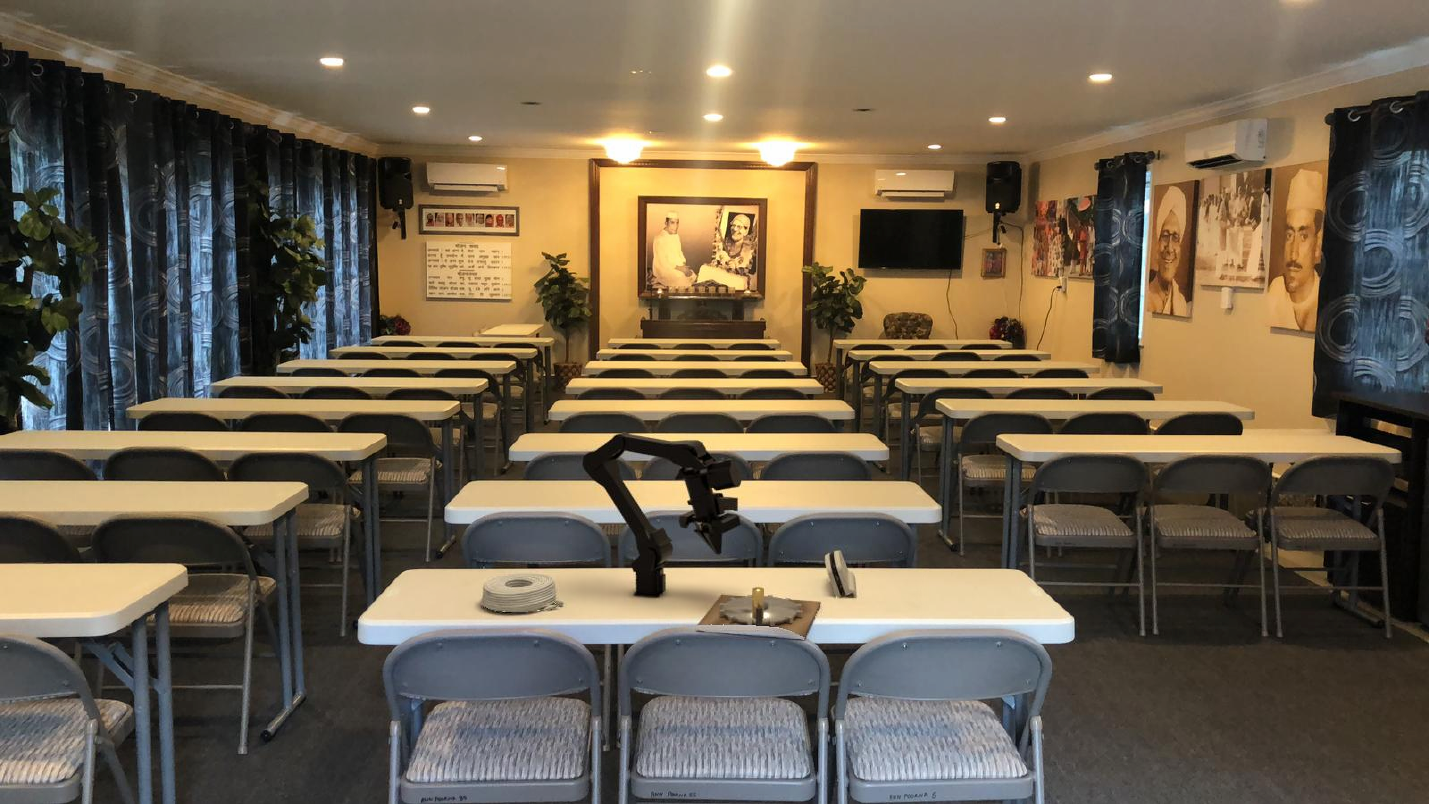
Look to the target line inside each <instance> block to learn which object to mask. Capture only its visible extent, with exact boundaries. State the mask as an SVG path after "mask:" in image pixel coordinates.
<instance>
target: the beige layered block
mask: <svg viewBox="0 0 1429 804" xmlns="http://www.w3.org/2000/svg"><path fill="white" fill-rule="evenodd" d="M824 561H825V567H826V572H827V576H828V579H829V582H830V585H831V586H832V590H833V593H834V596H835V597H836V596H837V597H839V598H841V597H842V596H843V595H845V596H848V595H850V594H853V597H854V598H855V597H857V598H858V595H856V594H857V581H856V576H855V574H854V572H853V571H851V570H849V569H848V567H847V564H846V562H845V559H844V556H843V554H842V551H841V550H834V552H832V553H831V552H828V553H827V554H825V556H824ZM839 585H840V586H839Z"/></svg>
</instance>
